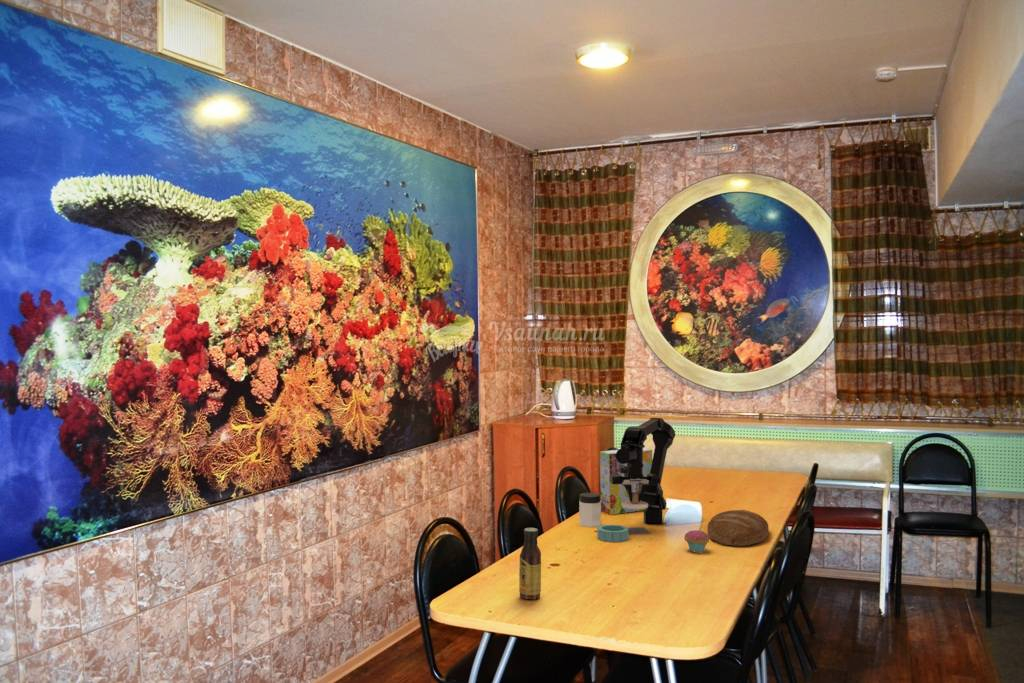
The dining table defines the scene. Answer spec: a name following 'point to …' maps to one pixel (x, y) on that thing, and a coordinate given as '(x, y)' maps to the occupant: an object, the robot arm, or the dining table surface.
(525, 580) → the sauce bottle
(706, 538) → the cupcake
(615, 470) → the snack box
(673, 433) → the robot arm
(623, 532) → the bowl
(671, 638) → the dining table surface
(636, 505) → the lid
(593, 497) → the jar
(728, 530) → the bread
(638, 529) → the mat
